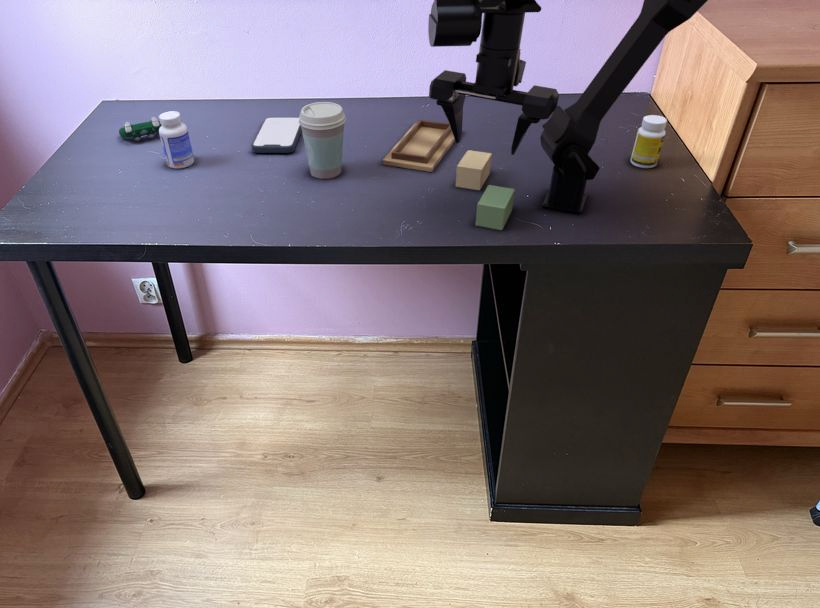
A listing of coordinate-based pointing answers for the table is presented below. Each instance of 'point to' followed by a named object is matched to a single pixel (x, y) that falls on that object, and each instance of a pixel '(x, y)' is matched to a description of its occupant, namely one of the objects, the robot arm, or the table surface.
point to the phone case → (277, 135)
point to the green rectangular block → (495, 207)
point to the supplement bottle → (649, 142)
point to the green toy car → (140, 129)
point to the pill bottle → (175, 140)
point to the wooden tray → (421, 146)
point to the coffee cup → (323, 137)
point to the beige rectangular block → (473, 170)
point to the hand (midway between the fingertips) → (485, 147)
